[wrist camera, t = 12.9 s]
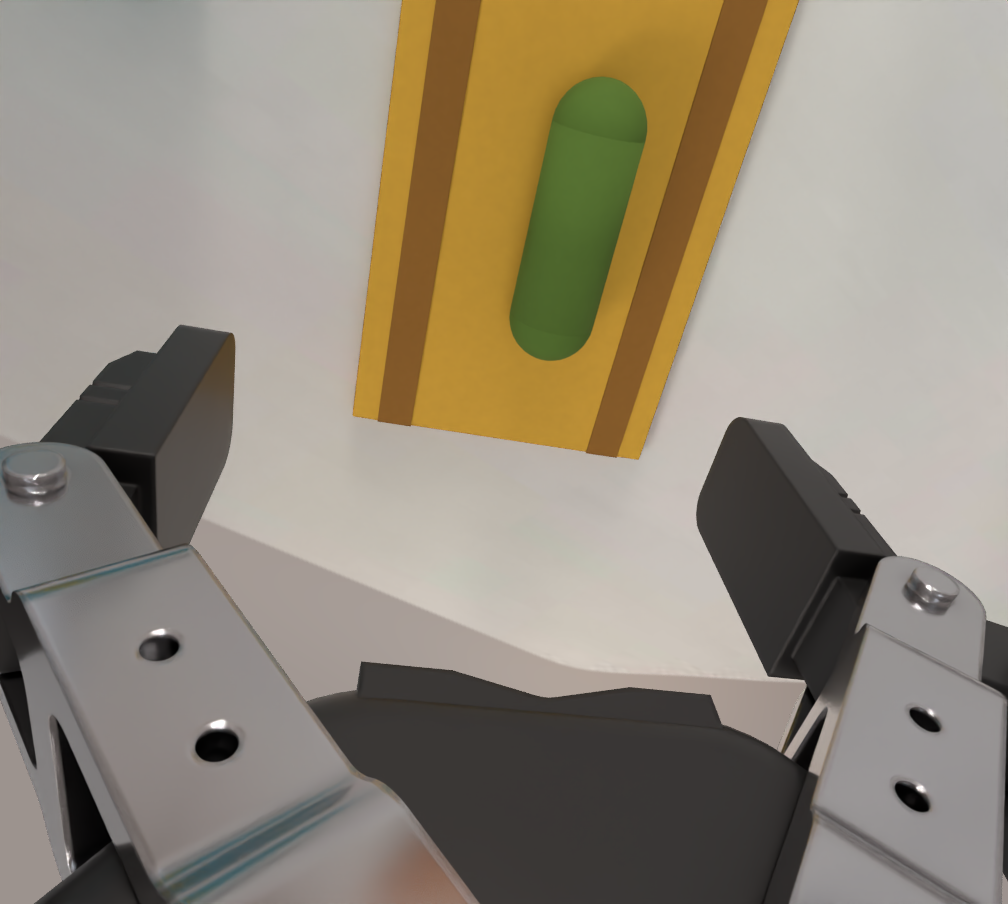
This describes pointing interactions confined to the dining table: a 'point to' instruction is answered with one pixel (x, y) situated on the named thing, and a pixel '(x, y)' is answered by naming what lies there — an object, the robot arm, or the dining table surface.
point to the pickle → (577, 216)
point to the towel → (510, 197)
